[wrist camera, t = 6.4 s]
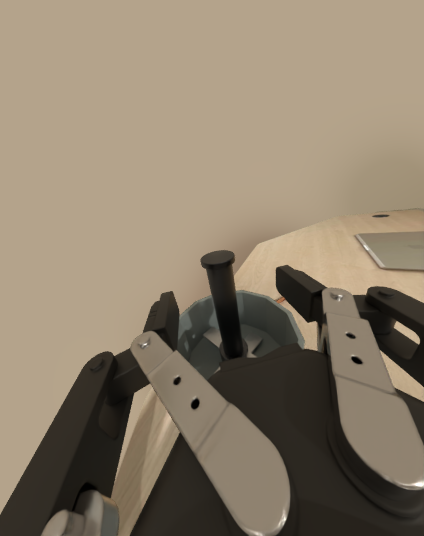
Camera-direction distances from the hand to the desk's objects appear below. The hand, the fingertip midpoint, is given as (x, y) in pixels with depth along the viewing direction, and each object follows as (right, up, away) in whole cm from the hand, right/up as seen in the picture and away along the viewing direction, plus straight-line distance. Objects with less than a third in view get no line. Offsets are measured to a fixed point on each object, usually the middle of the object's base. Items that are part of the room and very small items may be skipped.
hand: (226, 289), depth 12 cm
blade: (+2, -10, +7) cm, 12 cm away
